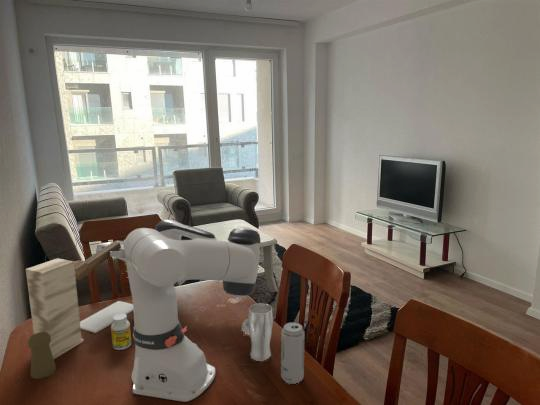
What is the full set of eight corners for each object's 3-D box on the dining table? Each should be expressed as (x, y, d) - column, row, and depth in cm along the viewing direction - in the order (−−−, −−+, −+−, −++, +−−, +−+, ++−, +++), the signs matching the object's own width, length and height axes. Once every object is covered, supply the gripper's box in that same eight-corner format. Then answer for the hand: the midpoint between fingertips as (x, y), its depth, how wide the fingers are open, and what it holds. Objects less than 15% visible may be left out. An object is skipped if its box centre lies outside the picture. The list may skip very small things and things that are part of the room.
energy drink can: (279, 372, 105) (279, 321, 102) (301, 370, 105) (302, 320, 102) (282, 387, 99) (283, 333, 96) (305, 385, 99) (306, 332, 97)
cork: (37, 381, 101) (33, 343, 98) (26, 373, 104) (21, 336, 102) (60, 369, 106) (56, 332, 103) (48, 362, 109) (44, 326, 107)
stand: (83, 341, 119) (75, 261, 114) (53, 359, 110) (43, 273, 105) (64, 335, 123) (55, 257, 118) (32, 352, 113) (22, 269, 108)
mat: (139, 307, 142) (139, 305, 142) (95, 333, 124) (95, 331, 124) (118, 302, 146) (118, 300, 146) (73, 326, 128) (73, 325, 128)
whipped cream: (265, 339, 123) (267, 325, 122) (245, 341, 120) (246, 327, 119) (257, 325, 130) (258, 313, 129) (238, 327, 128) (239, 314, 126)
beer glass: (277, 353, 113) (277, 306, 110) (264, 366, 107) (264, 316, 104) (257, 346, 117) (257, 300, 114) (243, 358, 111) (243, 310, 108)
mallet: (122, 249, 136) (120, 239, 134) (80, 279, 121) (76, 268, 119) (114, 248, 137) (111, 238, 136) (71, 277, 122) (67, 266, 121)
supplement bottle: (129, 339, 121) (126, 310, 119) (133, 347, 116) (131, 317, 115) (111, 344, 118) (108, 315, 116) (114, 352, 114) (112, 322, 112)
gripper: (154, 264, 139) (126, 267, 127) (113, 256, 148) (82, 257, 135) (157, 247, 139) (129, 248, 127) (115, 240, 148) (85, 239, 135)
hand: (104, 252), depth 131 cm, fingers closed on mallet, 3 cm apart
